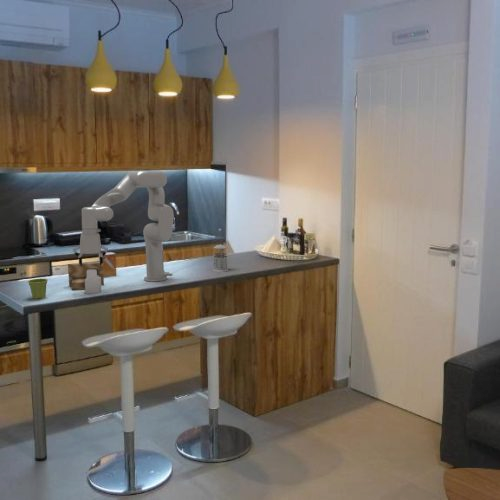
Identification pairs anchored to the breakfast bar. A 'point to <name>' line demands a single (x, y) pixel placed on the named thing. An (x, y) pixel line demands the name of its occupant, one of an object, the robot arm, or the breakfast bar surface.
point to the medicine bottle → (92, 281)
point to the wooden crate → (82, 274)
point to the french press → (220, 259)
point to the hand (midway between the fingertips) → (91, 264)
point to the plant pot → (38, 288)
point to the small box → (109, 264)
